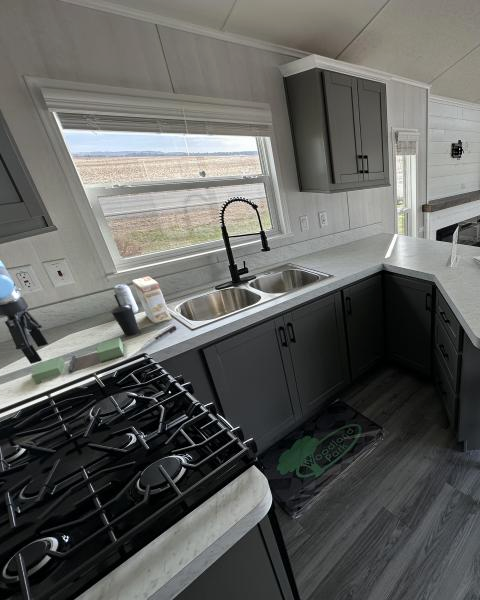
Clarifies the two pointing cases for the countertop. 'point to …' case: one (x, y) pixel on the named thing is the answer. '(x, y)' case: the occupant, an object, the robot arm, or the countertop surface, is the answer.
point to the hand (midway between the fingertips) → (40, 353)
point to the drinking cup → (125, 318)
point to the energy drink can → (125, 296)
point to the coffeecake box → (151, 299)
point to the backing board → (87, 361)
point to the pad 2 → (110, 349)
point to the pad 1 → (47, 369)
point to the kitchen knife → (162, 334)
